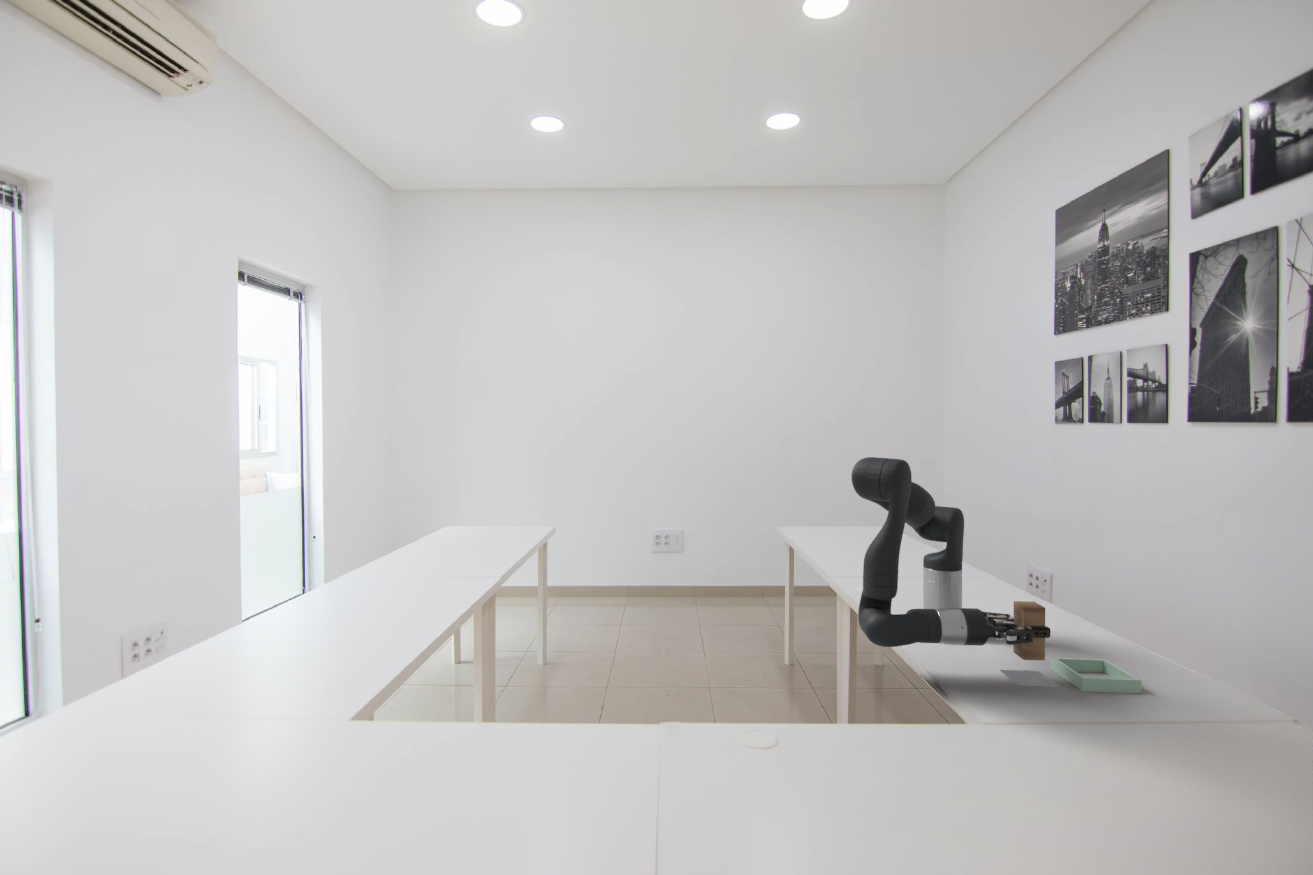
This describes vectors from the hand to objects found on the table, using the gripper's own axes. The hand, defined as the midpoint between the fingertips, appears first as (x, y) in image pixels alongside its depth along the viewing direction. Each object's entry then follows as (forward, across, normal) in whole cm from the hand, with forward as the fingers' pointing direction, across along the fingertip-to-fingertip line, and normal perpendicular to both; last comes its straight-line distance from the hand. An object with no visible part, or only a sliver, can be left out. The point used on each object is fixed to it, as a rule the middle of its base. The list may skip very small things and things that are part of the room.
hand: (1042, 628), depth 125 cm
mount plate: (-3, 0, +12) cm, 12 cm away
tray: (+10, 0, +12) cm, 15 cm away
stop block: (-3, 0, +6) cm, 7 cm away
